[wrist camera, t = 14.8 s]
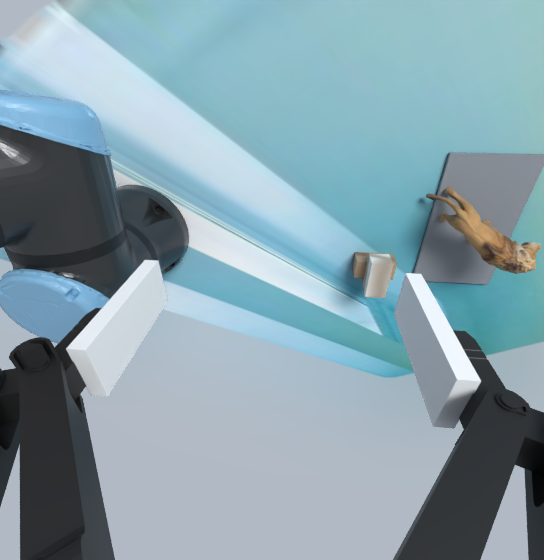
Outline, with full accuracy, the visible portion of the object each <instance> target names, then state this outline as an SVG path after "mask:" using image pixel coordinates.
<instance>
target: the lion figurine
mask: <svg viewBox="0 0 544 560" xmlns="http://www.w3.org/2000/svg"><path fill="white" fill-rule="evenodd" d="M445 194H446V195H447V196H450V197H451V198H453V199H454V200H456V201H457V202H458V204H459V206H460V208H459V207H458V206H457V205H456V204H455V203H453V202H452V201H451V200H449V199H447V198H444V197H441V196H436V195H434V194H427V195H426V197H427V198H430V199H432V200H440V201H443V202H445V203H447V204H448V205H449V206H451V207H452V208H453V210H454V211H455V212H456V215H449V213H447V212H443V213H442V214H441V215H440V221H441V222H445V221H447V222H448V223H449V224H450V225H451V226H452V227H454V229H455V230H457V231H459V232H461V233H462V234H464V236H465V238H466V239H467V240H468V243H470V244H471V246H472V247H474V248H475V250H476V251H477V252H478V253H479V254H480V255H481V258H482V259H483V260H484V261H485V262H487V263H488V264H489V265H493V266H495V267H497V268H499V269H500V270H503V271H504V270H505V271H509V272H511V273H515V274H517V273H524V272H528V271H531V270H535V264H536V261H535V260H534V259H535V258H536V252H537V251H538V250H539V249H540V247H541V246H540V244H538V243H535V242H529V243H527V242H525V243H523V244H522V245H520V244H518V243H517V242H516V241H512V240H510V239H509V238H508V237H506V236H503V235H502V234H501V233H499V232H498V231H497V230H496V229H495V228H493V227H491V226H490V225H491V224H490V221H483V222H481V219H480V216H479V214H478V213H477V212H476V210H475V209H474V207H473V206H472V205H471V204H470V203H469V202H467V201H466V200H465V199H463V198H462V197H460V196H459V195H458V194H457V193H456V192H455V191H454V189H453V188H451V187H448V188H447V189H446V190H445Z"/></svg>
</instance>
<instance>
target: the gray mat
mask: <svg viewBox="0 0 544 560" xmlns="http://www.w3.org/2000/svg"><path fill="white" fill-rule="evenodd" d="M543 166H544V154H496V153H449V154H448V158H447V161H446V164H445V168H444V171H443V174H442V178H441V181H440V185H439V188H438V191H437V195H436V196H441V197H444V198H447V199H449V200H451V201H452V202H453V203H455V204H456V205H457V206H458V207H459V208H460V206H459V204H458V202H457V201H456V200H454V199H453V198H451V197H450V196H447V195H446V194H445V190H446V189H447V188H448V187H451V188H453V189H454V191H455V192H456V193H457V194H458V195H459V196H460V197H462V198H463V199H465V200H466V201H467V202H469V203H470V204H471V205H472V206H473V207H474V209H475V210H476V212H477V213H478V214H479V216H480V219H481V222H483V221H490V224H491V225H490V226H491V227H493V228H495V229H496V230H497V231H498V232H499V233H501V234H502V235H503V236H506V237H508V238H509V239H510V237H511V235H512V232H513V230H514V228H515V226H516V224H517V222H518V220H519V217H520V215H521V213H522V211H523V209H524V207H525V205H526V203H527V200H528V198H529V196H530V194H531V192H532V190H533V188H534V185H535V183H536V181H537V179H538V177H539V175H540V173H541V171H542V168H543ZM443 212H447V213H449V215H456V212H455V211H454V210H453V208H452V207H451V206H449V205H448V204H447V203H445V202H443V201H440V200H435V201H434V205H433V208H432V211H431V215H430V218H429V221H428V225H427V228H426V232H425V235H424V238H423V242H422V245H421V248H420V252H419V255H418V258H417V262H416V265H415V268H414V272H413V274H422V276H423V278H424V280H425V281H432V282H451V283H470V284H489V281H490V279H491V277H492V275H493V273H494V271H495V269H496V267H495V266H493V265H489V264H488V263H487V262H485V261H484V260H483V259H482V258H481V255H480V254H479V253H478V252H477V251H476V250H475V248H474V247H472V246H471V244H470V243H468V240H467V239H466V238H465V236H464V234H462V233H461V232H459V231H457V230H455V229H454V227H452V226H451V225H450V224H449V223H448V222H447V221H445V222H441V221H440V215H441V214H442V213H443Z"/></svg>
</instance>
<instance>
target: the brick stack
mask: <svg viewBox="0 0 544 560" xmlns="http://www.w3.org/2000/svg"><path fill="white" fill-rule="evenodd" d="M396 265H397V262H396V260H395V258H394V256H393V254H380V253H359V252H355V254H354V260H353V266H352V270H353V274H354V278H364V280H363V285H362V286H363V290H364V294H365V297H377V298H385V296H386V292H387V288H388V284H389V280H393V277H394V273H395V269H396Z"/></svg>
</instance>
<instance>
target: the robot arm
mask: <svg viewBox="0 0 544 560" xmlns="http://www.w3.org/2000/svg"><path fill="white" fill-rule="evenodd" d="M110 156H111V153H110V151H109V150H108V149H107V146H106V142H105V139H104V135H103V132H102V128H101V124H100V121H99V119H98V117H97V115H96V114H95V113H94V112H93V110H92V109H90V108H89V107H88V106H86V105H85V104H83V103H80V102H77V101H73V100H68V99H62V98H56V97H50V96H43V95H36V94H28V93H21V92H14V91H6V90H0V248H1V247H4V249H5V251H6V253H7V255H8V257H9V259H10V261H11V263H12V265H13V270H12V271H9V272H7V273H5V274H4V275H3V276H2V279H1V280H0V306H1V307H2V309H3V310H4V311H5V313H6V314H7V315H8V316H9V317H10V318H11V319H12V320H14V321H15V322H16V323H17V324H19V325H20V326H21V327H23V328H25V329H26V330H28V331H29V332H31V333H33V334H36V335H37V336H39V337H38V338H34V339H30V340H28V341H26V342H23V343H22V344H20V345H18V346H17V347H16V348H15V349H14V350H13V351H12V352H11V353H10V356H9V358H10V360H11V361H12V363H13V364H14V366H15V367H16V368H15V369H9V370H3V371H2V370H1V369H0V506H1V502H2V499H3V496H4V493H5V490H6V486H7V483H8V479H9V476H10V473H11V470H12V467H13V463H14V460H15V457H16V453H17V450H18V447H19V444H20V560H115V558H114V553H113V548H112V543H111V538H110V533H109V528H108V523H107V518H106V513H105V508H104V503H103V498H102V493H101V488H100V483H99V478H98V473H97V469H96V463H95V458H94V453H93V448H92V443H91V438H90V433H89V428H88V423H87V419H86V413H85V408H84V403H83V399H82V397H81V395H80V393H81V392H82V391H83V389H84V388H85V387H86V388H87V390H88V391H89V394H90V395H94V396H104V397H108V395H109V394H110V392H111V390H112V389H113V387H114V386H115V384H116V383H117V381H118V379H119V378H120V376H121V375H122V373H123V371H124V370H125V368H126V367H127V365H128V363H129V362H130V360H131V359H132V357H133V356H134V354H135V352H136V351H137V349H138V348H139V346H140V344H141V343H142V341H143V340H144V338H145V336H146V335H147V333H148V332H149V330H150V328H151V327H152V325H153V324H154V322H155V320H156V319H157V317H158V316H159V314H160V312H161V311H162V309H163V308H164V306H165V304H166V303H167V301H168V299H167V295H166V291H165V286H164V282H163V278H162V274H163V273H165V272H167V271H169V270H171V269H172V268H174V267H175V266H176V265H177V264H178V263H179V262H180V260H181V259H182V257H183V256H184V254H185V253H186V250H187V248H188V243H189V234H188V228H187V225H186V222H185V220H184V218H183V216H182V214H181V213H180V211H179V210H178V209H177V207H176V206H175V205H174V204H173V203H172V202H171V201H170V200H169V199H167V198H166V197H165V196H163V195H162V194H160V193H159V192H157V191H155V190H153V189H150V188H148V187H144V186H139V185H125V186H121V187H118V188H117V187H116V183H115V178H114V174H113V169H112V165H111V160H110ZM394 316H395V319H396V322H397V325H398V328H399V330H400V333H401V336H402V339H403V342H404V345H405V348H406V350H407V353H408V356H409V359H410V362H411V365H412V367H413V370H414V373H415V376H416V379H417V382H418V384H419V387H420V390H421V393H422V396H423V399H424V401H425V404H426V407H427V410H428V413H429V416H430V419H431V422H432V424H433V426H435V427H444V428H455V426H456V424H457V423H458V421H459V419H460V421H461V424H462V426H463V428H464V431H463V432H462V434H461V435H460V437H459V439H458V440H457V442H456V444H455V447H454V448H453V451H452V452H451V454H450V456H449V458H448V460H447V461H446V463H445V465H444V467H443V469H442V471H441V472H440V474H439V476H438V478H437V480H436V482H435V484H434V485H433V487H432V489H431V491H430V493H429V495H428V496H427V498H426V500H425V502H424V504H423V505H422V507H421V509H420V511H419V513H418V515H417V517H416V519H415V520H414V522H413V524H412V526H411V528H410V530H409V531H408V533H407V535H406V537H405V539H404V540H403V542H402V544H401V546H400V548H399V550H398V552H397V553H396V555H395V557H394V559H393V560H480V559H481V556H482V553H483V551H484V548H485V545H486V542H487V540H488V537H489V534H490V531H491V529H492V525H493V523H494V520H495V518H496V515H497V512H498V509H499V507H500V504H501V501H502V498H503V496H504V493H505V490H506V487H507V485H508V482H509V479H510V476H511V474H512V471H513V468H514V465H517V466H520V467H522V468H525V488H526V510H527V532H528V554H529V560H544V413H543V412H540V411H537V410H535V409H532V408H530V406H529V404H528V403H527V402H526V401H525V400H524V399H523V398H522V397H520V396H519V395H517V394H516V393H514V392H512V391H509V390H507V389H506V388H505V386H504V385H503V383H502V382H501V380H500V378H499V377H498V375H497V374H496V372H495V370H494V369H493V367H492V366H491V364H490V362H489V361H488V360H487V359H486V356H485V354H484V353H483V352H482V350H481V348H480V346H479V345H478V343H477V342H476V340H475V339H474V338H473V337H471V336H470V335H469V334H468V333H467V332H466V331H454V330H452V328H451V326H450V325H449V323H448V321H447V319H446V317H445V316H444V314H443V312H442V310H441V308H440V307H439V305H438V303H437V301H436V300H435V298H434V296H433V294H432V292H431V291H430V289H429V287H428V285H427V283H426V282H425V280H424V278H423V276H422V274H413V273H406V274H405V277H404V281H403V284H402V288H401V291H400V295H399V299H398V302H397V306H396V309H395V313H394ZM51 341H52V342H55V343H59V344H58V345H57V346H56V347H55V348H54V346H53V344H52V343H51Z"/></svg>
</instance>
